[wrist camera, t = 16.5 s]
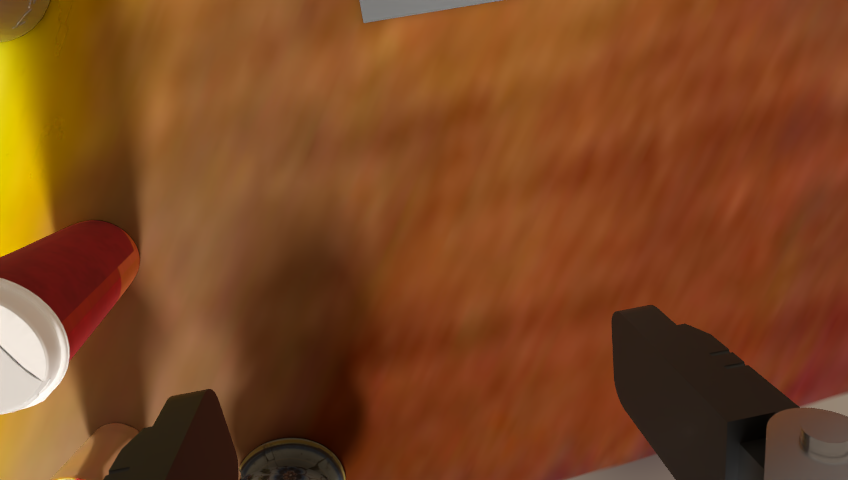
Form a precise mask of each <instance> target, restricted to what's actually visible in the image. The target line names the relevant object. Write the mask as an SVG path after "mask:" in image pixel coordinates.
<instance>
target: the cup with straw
mask: <svg viewBox="0 0 848 480" xmlns="http://www.w3.org/2000/svg"><path fill="white" fill-rule="evenodd" d="M138 433H139V431H137V430H136V429H135V428H133V427H131V426H129V425H126V424H121V423H111V424H106V425H103V426H102V427H100V428H98V429H97V430H96V431H95V432H94V433H93V435H92V436H91V437H90V438H88V439H87V440H86V441H85V443H84V444H83V445H82V446H81V447H80V448H79V449H78V450H77V451H76V452H75V453H74V454H73V455H72V456H71V457H70V459H69V460H68V461H67V462H66V463H65V464H64V465H63V466H62V467H61V468H60V469H59V470H58V471H57V472H56V474H55V475H54V476H53V477H52V478H51V479H50V480H103V479H104V478H105V476H106V475H109V469H110V468H111V466H112V464H113V463H114V461H115V459H116V458H117V456H118V454H119V453H120V451H121V449H122V448H123V447H124V446H125V445H126V444H128V443H129V442H130V441H131V440H132V439H133V438H134V437H135V436H136V435H137V434H138Z"/></svg>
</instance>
